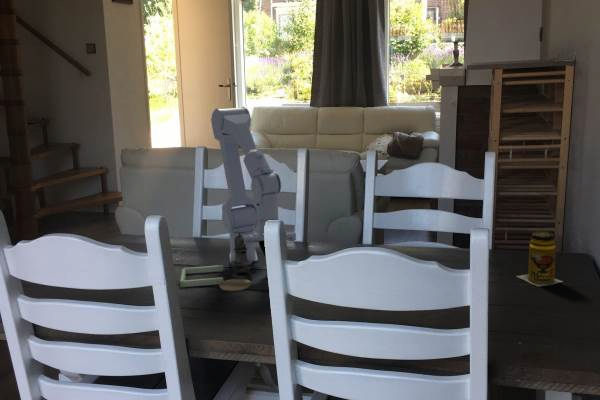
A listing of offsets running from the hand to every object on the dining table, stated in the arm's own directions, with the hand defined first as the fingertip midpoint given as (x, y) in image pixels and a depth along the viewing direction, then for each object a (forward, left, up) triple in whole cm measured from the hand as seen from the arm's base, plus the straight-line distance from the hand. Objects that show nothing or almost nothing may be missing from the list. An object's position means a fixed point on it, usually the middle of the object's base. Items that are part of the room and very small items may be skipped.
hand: (270, 267), depth 164 cm
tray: (0, -18, -2) cm, 18 cm away
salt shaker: (0, -8, -2) cm, 8 cm away
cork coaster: (+8, -10, -2) cm, 13 cm away
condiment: (+22, +65, -2) cm, 69 cm away
